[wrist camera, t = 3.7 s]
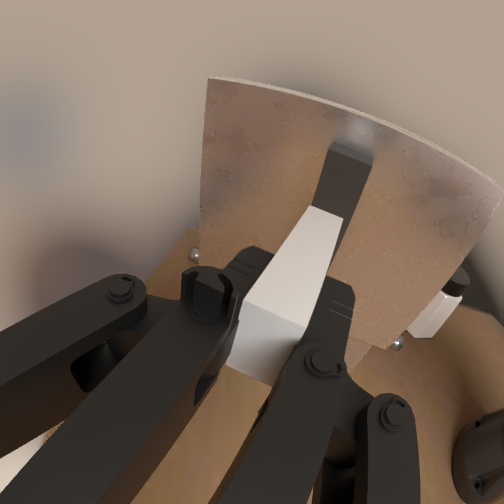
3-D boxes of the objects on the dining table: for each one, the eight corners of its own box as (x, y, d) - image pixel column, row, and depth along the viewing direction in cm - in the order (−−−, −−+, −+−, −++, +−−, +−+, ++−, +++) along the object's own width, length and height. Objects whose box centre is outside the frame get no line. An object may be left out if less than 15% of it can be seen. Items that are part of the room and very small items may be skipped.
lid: (387, 337, 23) (382, 363, 21) (206, 258, 27) (189, 278, 25) (497, 182, 11) (513, 204, 9) (220, 76, 16) (193, 80, 14)
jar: (422, 306, 45) (454, 256, 39) (439, 338, 39) (478, 287, 32) (388, 303, 44) (421, 247, 38) (404, 339, 37) (447, 281, 31)
